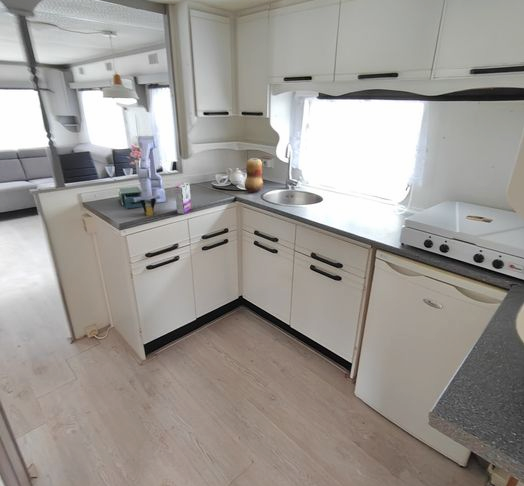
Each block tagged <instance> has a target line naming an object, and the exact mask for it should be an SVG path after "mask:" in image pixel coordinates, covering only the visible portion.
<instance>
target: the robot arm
mask: <svg viewBox="0 0 524 486" xmlns="http://www.w3.org/2000/svg"><path fill="white" fill-rule="evenodd" d="M137 144H138V146H139V148H140V149H141V157H140V158H139V164H138V165H139V166H138V169H137V171H136V172H137V178H138V183H139V185H140V190H141V194H142V197H137V198H134V202H137V201H140V203H141V204H142V206H141V207H142V208H143V211H144V213H145V214H146V206H147V205H146V202H145V201H149V202H150V206H151V207H152V209H153V212H154V209H155V205H156V204H157V203H158V204H159V203H166V202H167V200H166V191H165V188H164V187H163V185H164V183H163V178H162V175H161V174H160V173H157V164H156V158H155V149H156V148H157V147H158V146H157V139H156V135H138V136H137Z"/></svg>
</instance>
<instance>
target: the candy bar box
mask: <svg viewBox="0 0 524 486" xmlns="http://www.w3.org/2000/svg"><path fill="white" fill-rule="evenodd" d="M174 194H175V195H174V197H175V205H176V214H178V215H186V214H187V213H188V212H189V211H191V210H192V209H193V207H192V198H191V187H190V182H181V183H180V184H178V185H175V186H174Z"/></svg>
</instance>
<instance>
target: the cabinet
mask: <svg viewBox="0 0 524 486" xmlns="http://www.w3.org/2000/svg"><path fill="white" fill-rule="evenodd" d="M117 193H118V199H119V202H120V204H121V205H122V206H123V207H125V203H124V200H123V195H124V194H134V193H140V194H141V188H139V186H131V187H121V188H120V187H119V188H117ZM141 195H142V194H141Z"/></svg>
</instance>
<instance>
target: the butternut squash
mask: <svg viewBox="0 0 524 486" xmlns="http://www.w3.org/2000/svg"><path fill="white" fill-rule="evenodd" d="M245 171H246V172H245V173H246V178H245V181H244V189H245V190H246V192H248V193H253V194H255V193H259V192H260V191H261V190H262V189H263V187H264V181H263V178H262V175H263V162H262V160H261V159H259V158H257V157H255V158H254V157H251V158H249V159H248V160H247V161H246V166H245Z"/></svg>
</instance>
